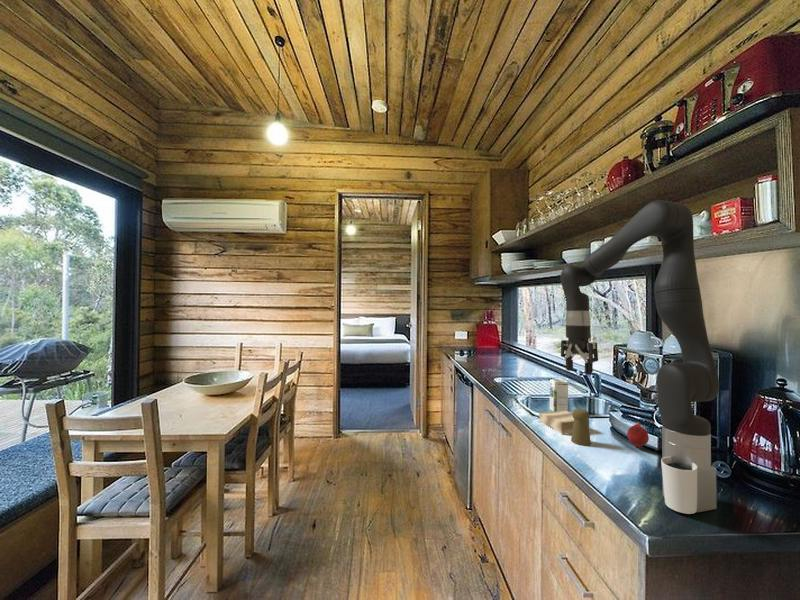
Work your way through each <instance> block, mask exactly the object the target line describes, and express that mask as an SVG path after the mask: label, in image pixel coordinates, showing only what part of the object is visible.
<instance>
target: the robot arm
mask: <svg viewBox="0 0 800 600" xmlns="http://www.w3.org/2000/svg"><path fill="white" fill-rule="evenodd" d="M693 218H694V217H693V213H692V211H691V209H690V208H689V207H688V206H687V205H685V204H683V203H679V202H673V201H669V200H663V199H661V200H659V199H657V200H654V201H651V202H649V203H647V204H646V205H645V206H643V207H642V208H641V209H640V210H638V211H637V212H636V214H635V215H634V216H633V217H632V218H631V219H630V220H629V221H628V222H627V223H626V224H625V225H623V226H622V228H620V229H619V230H618V232H616V233H615V234H614V235H613V236H612V237H611V238H610V239H609V240H607V241H606V242H605V243H604V244H603V245H601V246H599V247H598V248H596V249H595V250H593V252H590V254H589V255H587V256H586V257H584V260H583V262H582V263H583V265H567V266H565V267H563V268H562V270H561V272H560V279H559V280H560V284H561V288H562V290H563V295H564V297H565V310H566V311H565V337H566V338H567V339H563V340H561V341H560V357H562V358H564V360H565V369H566V371H572V372H573V370H574V360H573V359H574V357H575V356H576V355H579V356H580V357H581V358H582V360H584V374H585V375H588V376H590V375H592V374H593V372H594V371H593V370H594V369H593V367H594V365H593V363H595V362H599V354H598V343H597V342H589V339H591V337H592V335H591V334H592V333H591V329H592V328H591V315H590V297H589V295H588V294H586V293H584V292H582V291H581V289H580V287H581V288H582V287H588V286H589V285H592V284H593V283H594V282H596V280H597V279H598V278H599V277H600V276H601V275H602V273H604V272H606V271H607V270H609V269H611V268H612V267H614V266H616V265H617V264H618V263H619V262H620V261H621V260H623V258H624V257H625V255H626V254H627V253H628V250H629V249H631V247H632V246H633V245H636V244H637V243H638V242H640V241H643V240H645V239H646V238H649V237H655V238H656V237H657V238H660V243H661V247H662V248H661V249H662V254H663V255H662V256H663V258H662V263H661V266H660V269H659V271H658V274H657V275H656V277H655V282H654V285H653V290H654V291H653V292H654V299H655V300H654V302H655V308H656V312H657V314H658V316H659V318H660V319H661V320H662V322H663V324H664V325H665V327H667V328H668V330H669V331H670V332H671V334H672V335H673V336H674V337H675V339H676V341H677V343H678V345H679V348H680V351H681V356H682V362H676V363H675V362H674V363H673V362H671V363H670V362H669V363H665V364H663V365H662V366H660V368H659V370H658V371H657V374H656V375H657V376H656V393H657V404H658V405H657V409H658V412H659V416H660V418H661V424H662V425H661V430H662V431H661V448H662V449H661V450H662V451H661V452H662V453H661V454H662V455H661V456H662V458H664V457H671V464H674V463H677V464H679V465H680V466H681V467H685V468H690V469H692V463H694V464H696V465H697V512H696V513H701V512H707V511H712V510H717V469H716V467H714V466H712V451H711V450H712V449H711V448H712V447H711V446H712V443H711V441H712V435H711V434H712V433H711V431H712V430H711V429H712V426H711V423H710V421H709V420H708V419H706V418H705V417H701V416H700V415H696V414H695V413H694V412H693V405H692V403H695V402H696V403H697V402H698V403H699V402H711V401H713V400H715V398H717V396H718V395H719V392H720V380H719V379H720V377H719V375H718V370H717V367H716V363H715V360H714V356H713V353H712V352H713V351H712V349H711V346H710V343H709V342H710V341H709V337H708V331H707V328H706V322H705V316H704V309H703V307H704V306H703V302H702V301H703V300H702V299H703V298H702V294H701V287H700V283H699V278H698V271H697V264H696V256H695V245H694V244H695V242H694V219H693ZM662 458H661V459H662ZM661 475H662V474H661ZM662 477H663V475H662ZM662 496H663V497H664V498H665V496H664V486H663V485H662Z"/></svg>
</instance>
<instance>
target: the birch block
mask: <svg viewBox="0 0 800 600" xmlns="http://www.w3.org/2000/svg"><path fill="white" fill-rule="evenodd" d="M540 422H541V423H540ZM539 423H540V424H542V423H543V424H542V425H544V426H545V425H546V426H545V427H547V426H548V428H549V427H550V429H551V428H552V430H553V429H554V430H556V431H558V432H559V433H558V432H557V433H558V434H560V433H561V434H560V435H566V434H565V433H572V430H573V423H574V418H573V416H572V412H571V411H569V410H568V411H554V412H551V411H545V412H539ZM588 427H589V428H590V419H589V420H588ZM554 430H553V431H554ZM556 431H555V432H556Z"/></svg>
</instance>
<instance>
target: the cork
mask: <svg viewBox="0 0 800 600" xmlns="http://www.w3.org/2000/svg"><path fill="white" fill-rule="evenodd" d="M571 413H572V416H573V418H574V423H573V430H572V434H571V438H570V442H571V443H573V444H575V445H578V446H581V447H589V446H590V447H591V445H592V441H591V435H590V434H591V433H590V426H589V427H588V420H589V421H590V413H589V411H588V410H586V409H582V408H576V409H573V410H572V412H571Z"/></svg>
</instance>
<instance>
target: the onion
mask: <svg viewBox="0 0 800 600" xmlns="http://www.w3.org/2000/svg"><path fill="white" fill-rule="evenodd" d="M626 433H627V434H626V436H627V439H628V441H629V442H630V443H631V444H632V445H633V446H635V447H636V448H642V447H643V446H645V445H646V444H647V443H649V433H648V431H647V430H646V429H645V428H644V427H643V426H641V422H635V424H634V425H632V426H630V427H629V428H628V429H627V432H626Z"/></svg>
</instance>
